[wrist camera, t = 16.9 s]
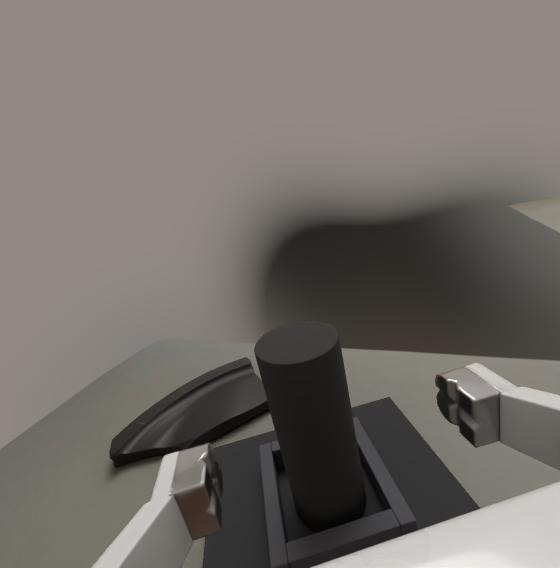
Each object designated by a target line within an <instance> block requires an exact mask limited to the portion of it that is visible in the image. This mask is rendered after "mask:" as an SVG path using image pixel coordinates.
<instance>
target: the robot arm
mask: <svg viewBox="0 0 560 568" xmlns="http://www.w3.org/2000/svg"><path fill="white" fill-rule="evenodd" d="M435 384H436V386H437V387H438V388H439V389H440V390H439V392H438V394H437V404H438V406H439V409H440V411H441V413H442V414H443V416H444V417H445V418H446V419H447V420H448V421H449V422H450V423H452V424H454V425H457V426H459V429H460V433H461V434H462V435H463V436H464V437H465V438H466V439H467V440H468V441H469V442H470V443H471V444H472V445H473V446H474V447H475V448H477V447H480V446H484V445H487V444H491V443H494V442H498V441H500V442H501V443H503V444H505V445H507V446H509V447H512V448H514V449H516V450H518V451H520V452H522V453H524V454H526V455H528V456H531V457H533V458H535V459H537V460H539V461H541V462H543V463H545V464H547V465H550V466H552V467H554V468H556V469H558V470H560V395H555V394H551V393H547V392H543V391H539V390H535V389H530V388H526V387H520V388H518V387H516V386H515V385H513V384H511V383H510V382H508V381H507V380H505V379H503V378H502V377H500V376H499V375H497V374H495V373H494V372H492V371H491V370H489V369H487V368H486V367H484V366H482V365H481V364H478V363H473V364H470V365H467V366H464V367H462V368H459V369H455V370H452V371H449V372H445V373H442V374H439V375H436V378H435ZM214 457H215V451H214V448H213V445H212V444H211V443H206V444H203V445H199V446H195V447H191V448H188V449H184V450H181V451H178V452H174V453H171V454H167V455H165V456H164V457H163V459H162V462H161V466H160V469H159V472H158V476H157V479H156V483H155V486H154V489H153V493H152V496H151V500H150V502H148V503H145V504H144V505H143V507H142V508H141V509H140V510H139V511H138V513H137V514H136V515H135V516H134V517H133V518H132V520H131V521H130V522H129V523H128V524H127V526H126V527H125V528H124V529H123V530H122V532H121V533H120V534H119V535H118V536H117V538H116V539H115V540H114V541H113V542H112V543H111V545H110V546H109V547H108V548H107V549H106V551H105V552H104V553H103V554H102V555H101V557H100V558H99V559H98V560H97V561H96V563H95V564H94V565H93V566H92V567H91V568H181V566H182V564H183V562H184V560H185V558H186V556H187V554H188V552H189V550H190V548H191V546H192V544H193V541H194V540H196V539H199V538H202V537H205V536H207V535H210V534H213V533H216V532H219V531H221V527H222V506H221V503H220V498H221V497H222V495H223V478H222V472H221V468H220V465H219V462H218V461H216V460H214ZM310 568H560V481H559V482H556V483H553V484H550V485H547V486H545V487H542V488H539V489H536V490H533V491H530V492H527V493H524V494H521V495H519V496H516V497H513V498H510V499H507V500H504V501H501V502H498V503H495V504H493V505H490V506H487V507H484V508H481V509H478V510H475V511H472V512H470V513H467V514H464V515H461V516H458V517H455V518H452V519H449V520H446V521H444V522H441V523H438V524H435V525H432V526H429V527H426V528H423V529H420V530H418V531H415V532H412V533H409V534H406V535H403V536H400V537H397V538H394V539H391V540H389V541H386V542H383V543H380V544H377V545H374V546H371V547H368V548H365V549H363V550H360V551H357V552H354V553H351V554H348V555H345V556H342V557H339V558H336V559H334V560H331V561H328V562H325V563H322V564H319V565H316V566H313V567H310Z"/></svg>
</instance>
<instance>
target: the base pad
mask: <svg viewBox="0 0 560 568" xmlns="http://www.w3.org/2000/svg"><path fill="white" fill-rule="evenodd" d="M351 410H352V416H353V422H354V428H355V433H356V439H357V445H358V451H359V457H360V463H361V469H362V475H363V481H364V487H365V492H366V507H365V511H364V514H363V516H362V518H361V519H358V520H355V521H352V522H349V523H346V524H343V525H340V526H337V527H334V528H330V529H327V530H324V531H321V532H318V533H316V532H315V531H313V530H311V529H310V528H308V527H307V526H306V525H305V524H304V523H303V522H302V520H301V519H300V517H299V515H298V513H297V511H296V507H295V503H294V499H293V495H292V492H291V488H290V484H289V480H288V477H287V473H286V469H285V465H284V462H283V458H282V454H281V450H280V446H279V443H278V439H277V435H276V431H275V430H274V431H271V432H267V433H264V434H260V435H257V436H253V437H250V438H247V439H243V440H240V441H236V442H233V443H229V444H226V445H223V446H219V447H216V448H214V451H215V457H214V460H216V461H218V462H219V465H220V468H221V472H222V478H223V495H222V497H221V498H220V503H221V506H222V527H221V531H219V532H216V533H213V534H210V535H207V536H206V537H205V548H204V560H203V568H310V567H313V566H316V565H319V564H322V563H325V562H328V561H331V560H334V559H336V558H339V557H342V556H345V555H348V554H351V553H354V552H357V551H360V550H363V549H365V548H368V547H371V546H374V545H377V544H380V543H383V542H386V541H389V540H391V539H394V538H397V537H400V536H403V535H406V534H409V533H412V532H415V531H418V530H420V529H423V528H426V527H429V526H432V525H435V524H438V523H441V522H444V521H446V520H449V519H452V518H455V517H458V516H461V515H464V514H467V513H470V512H472V511H475V510H478V509H480V508H479V507H478V505H477V504H476V503H475V502H474V500H473V499H472V498H471V497H470V495H469V494H468V493H467V492H466V491H465V489H464V488H463V487H462V486H461V484H460V483H459V482H458V481H457V479H456V478H455V477H454V476H453V475H452V473H451V472H450V471H449V470H448V468H447V467H446V466H445V465H444V464H443V462H442V461H441V460H440V459H439V457H438V456H437V455H436V454H435V452H434V451H433V450H432V449H431V448H430V446H429V445H428V444H427V443H426V441H425V440H424V439H423V438H422V436H421V435H420V434H419V433H418V432H417V430H416V429H415V428H414V427H413V425H412V424H411V423H410V422H409V421H408V419H407V418H406V417H405V416H404V414H403V413H402V412H401V411H400V409H399V408H398V407H397V406H396V405H395V403H394V402H393V401H392V400H391V398H390V397H387V398H384V399H380V400H377V401H374V402H370V403H367V404H363V405H360V406H356V407H353V408H351Z"/></svg>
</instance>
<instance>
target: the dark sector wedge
mask: <svg viewBox="0 0 560 568" xmlns="http://www.w3.org/2000/svg"><path fill="white" fill-rule="evenodd" d="M268 409H269V405H268V401H267V397H266V394H265V390H264V386H263V382H262V381H261V380H260V379H259V378H258V376H256V375H255V373H254V371H253V367H252V364H251V362H250V360H249V359H248V358H242V359H239V360H236V361H234V362H231V363H228V364H226V365H223V366H221V367H218V368H216V369H214V370H212V371H209V372H207V373H205V374H203V375H201V376H199V377H197V378H195V379H194V380H192V381H190V382H188V383H186V384H185V385H183V386H181V387H180V388H178V389H176V390H175V391H173V392H172V393H170V394H169V395H167V396H166V397H164V398H163V399H161V400H160V401H159V402H157V403H156V404H154V405H153V406H152V407H150V408H149V409H148V410H146V411H145V412H144V413H142V414H141V415H140V416H139V417H137V418H136V419H135V420H134V421H133V422H131V423H130V424H129V425H128V426H127V427H126V428H125V429H123V430H122V431H121V432H120V433H119V434H118V435H117V436H116V437H115V438H114V439H113V440H112V443H111V448H110V452H109V453H110V458H111V459H112V460H113V462H114V466H115V467H118V466H121V465H124V464H127V463H130V462H133V461H137V460H140V459H144V458H148V457H151V456H156V455H162V454H170V453H174V452H178V451H181V450H184V449H188V448H191V447H195V446H199V445H203V444H206V443H207V442H209V441H211V440H213V439H215V438H217V437H219V436H221V435H222V434H224V433H226V432H228V431H229V430H231V429H233V428H235V427H237V426H239V425H240V424H242V423H244V422H246V421H247V420H249V419H251V418H253V417H254V416H256V415H258V414H260V413H262V412H264V411H266V410H268Z"/></svg>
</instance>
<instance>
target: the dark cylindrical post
mask: <svg viewBox="0 0 560 568" xmlns="http://www.w3.org/2000/svg"><path fill="white" fill-rule="evenodd" d="M254 352H255V356H256V360H257V363H258V367H259V371H260V375H261V378H262V382H263V386H264V390H265V394H266V397H267V401H268V405H269V409H270V412H271V416H272V420H273V424H274V428H275V431H276V435H277V439H278V443H279V446H280V450H281V454H282V458H283V462H284V465H285V469H286V473H287V477H288V480H289V484H290V488H291V492H292V495H293V499H294V503H295V507H296V511H297V513H298V515H299V517H300V519H301V520H302V522H303V523H304V524H305V525H306V526H307V527H308V528H310V529H311V530H313V531H315V532H316V533H318V532H321V531H324V530H327V529H330V528H334V527H337V526H340V525H343V524H346V523H349V522H352V521H355V520H358V519H361V518H362V516H363V514H364V511H365V507H366V492H365V487H364V481H363V475H362V469H361V463H360V457H359V451H358V445H357V439H356V433H355V428H354V422H353V416H352V410H351V404H350V398H349V392H348V386H347V380H346V375H345V369H344V363H343V357H342V351H341V345H340V339H339V334H338V332H337V330H336V329H335V328H334V327H332V326H331V325H329V324H326V323H323V322H317V321H302V322H295V323H290V324H286V325H283V326H280V327H278V328H275V329H273V330H271V331H269V332H268V333H266V334H265V335H263V336H262V337H261V338H260V339H259V340H258V342H257V343H256V345H255V349H254Z"/></svg>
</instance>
